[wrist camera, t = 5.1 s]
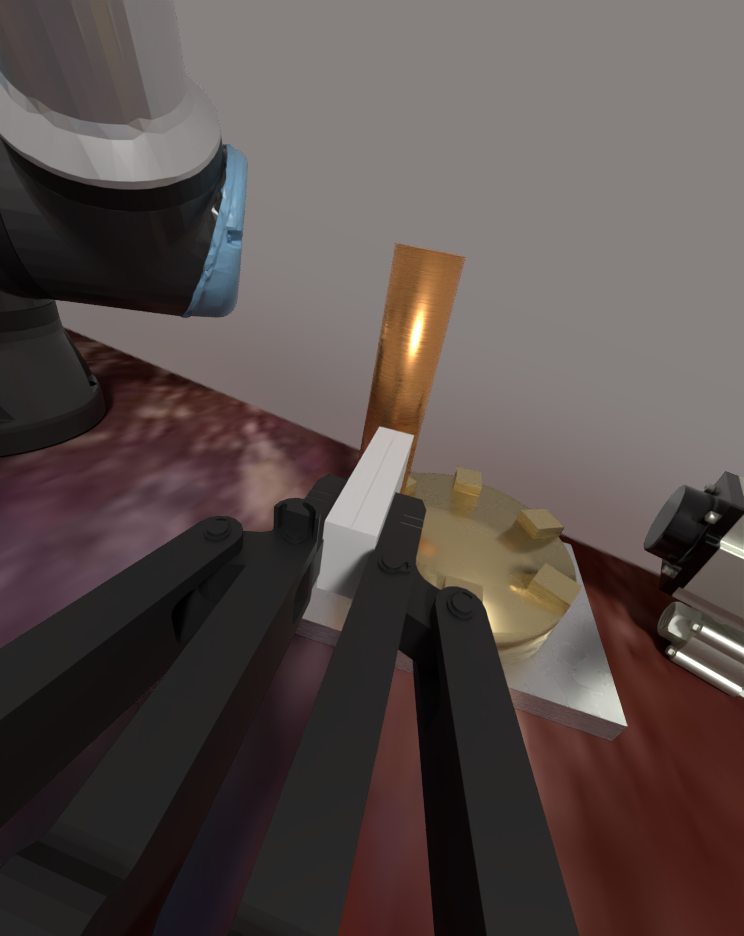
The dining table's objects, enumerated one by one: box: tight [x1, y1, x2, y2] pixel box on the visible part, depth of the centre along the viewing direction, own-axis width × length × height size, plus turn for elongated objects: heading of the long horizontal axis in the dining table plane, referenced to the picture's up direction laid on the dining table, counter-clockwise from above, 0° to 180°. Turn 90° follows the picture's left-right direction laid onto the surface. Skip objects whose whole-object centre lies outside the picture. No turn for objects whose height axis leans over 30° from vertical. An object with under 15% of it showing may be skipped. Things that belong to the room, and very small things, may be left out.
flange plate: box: [295, 542, 627, 741], centre depth 25 cm, size 18×13×2 cm
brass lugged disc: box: [358, 243, 583, 667], centre depth 20 cm, size 14×13×17 cm
